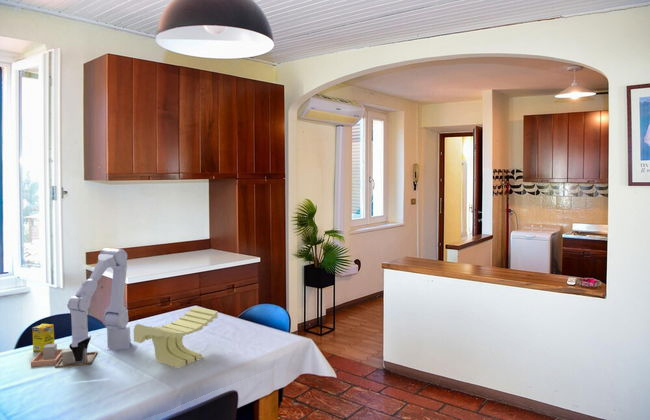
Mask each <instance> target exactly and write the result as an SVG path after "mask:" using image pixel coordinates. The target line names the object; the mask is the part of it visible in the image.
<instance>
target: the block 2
mask: <svg viewBox="0 0 650 420" xmlns="http://www.w3.org/2000/svg"><path fill="white" fill-rule="evenodd" d="M87 352H88V348H84V350H83V357H82V361H76V360H75V357H74V364H76V363H86V361H87Z"/></svg>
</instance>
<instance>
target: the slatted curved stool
mask: <svg viewBox="0 0 650 420" xmlns="http://www.w3.org/2000/svg"><path fill="white" fill-rule="evenodd" d="M218 318H219V317H218V311H217V310H213V309H208V308H204V307H201V306H200V307H199V306H196V307H193V308H191V309H190V310H189V311H187V312H185V313H184V315H183V316H180V317H179V319H176V320H174V321H172V322H171V323H167V324H164V325H161V326H158V325H157V326H148V325H144V324H140V323H137V324H136V325H134V327H133V342H136V343H139V344H142V343H144V342H145V341H146V340H147V341H148V340H152V345H153V346H154V356H155V360H156V362H158V363H162V364H165V365H168V366H170V365H171V366H170V367H173V366H175V367H174V368H176V367H178V368H177V369H179V367H180V368H182V367H184V365H185V366H186V365H189V363H190V364H192V363H194V362H195V361H196V360H197V361H199V360H202V359H203V358H204V357H203V355H202V353H199V352H195V351H194V350H190V349H189V348H187V347H185V345H184V344H183V339H184V336H186V335H188V336H189V335H190V334H192V333H195V332H199V331H201V330H203V329H204V327H207V326H208V325H209V323H213V321H214V320H213V319H218ZM201 358H202V359H201ZM198 359H199V360H198ZM191 362H192V363H191ZM181 366H182V367H181Z"/></svg>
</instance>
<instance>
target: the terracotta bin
mask: <svg viewBox="0 0 650 420" xmlns="http://www.w3.org/2000/svg"><path fill="white" fill-rule="evenodd" d="M62 349H63V348H59V349H58V348H57V356H56V357H55V358H54V359H44V358H43V350H42V351H40V352H37V354H36V356H35V357H34V358H33V359H31V361H30V367H31V368H32V367H34V368H35V367H44V366H55V365H56V364H57V363H58V361H59V360H60V359H61V357H62Z"/></svg>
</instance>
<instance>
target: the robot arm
mask: <svg viewBox="0 0 650 420" xmlns="http://www.w3.org/2000/svg"><path fill="white" fill-rule="evenodd" d="M109 268H111V270H112V281H111V288H110V289H111V290H110V301H109V306H108V307H106V308H105V309H104V314H103V316H102V324H103V325H104V327H105V329H106V337H107V339H106V340H107V341H106V343H107V346H106V347H105V351H110V350H114V351H115V350H124V349H125V350H126V349H129V348H130V345H131V341H132V339H131V327H130V326H127V325H128V324H129V319H130V318H129V315H128V314H129V311H128V309H127V308H126V307H125V306H124V300H125V290H126V280H127V279H126V278H127V271H128V253H127V252H126V250H124V249H123V248H119V249H118V248H117V249H116V248H108V247H107V248H106V247H105V248H102V249H101V251H100V252H99V254H98V256H97V262H96V264H95V267H94V269H93V270H92V272H91V275H90V276H89V278H88V279H84V281H83V282H81V285H80V287H79V288H78V290H77V291H76V294H75V295H74V296H71V297H70V298H69V300H68V302H67V304H66V306H67V308H68V310H69V312H70V316H71V317H70V318H71V319H70V320H71V343H70V344H69V348H70V349H71V350H72V352H73V354H74V357H75V360H76V361H82V357H83V350H84V348H87V349H88V347H89V345H90V344H89V343H90V341H91V339H92V335H91V334H89V330H88V329H89V327H88V326H89V325H88V324H89V323H88V309H89V308H90V307H91V301H92V297H93V295H94V294H95V292H96V291H97V288H98V282H99V280H100V279H101V278H102V276H103V275H104V274H105V272H106V271H107V269H109Z"/></svg>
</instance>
